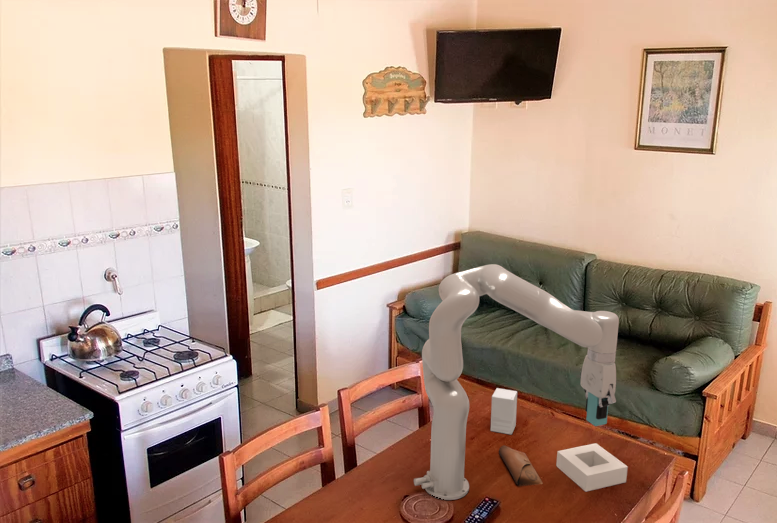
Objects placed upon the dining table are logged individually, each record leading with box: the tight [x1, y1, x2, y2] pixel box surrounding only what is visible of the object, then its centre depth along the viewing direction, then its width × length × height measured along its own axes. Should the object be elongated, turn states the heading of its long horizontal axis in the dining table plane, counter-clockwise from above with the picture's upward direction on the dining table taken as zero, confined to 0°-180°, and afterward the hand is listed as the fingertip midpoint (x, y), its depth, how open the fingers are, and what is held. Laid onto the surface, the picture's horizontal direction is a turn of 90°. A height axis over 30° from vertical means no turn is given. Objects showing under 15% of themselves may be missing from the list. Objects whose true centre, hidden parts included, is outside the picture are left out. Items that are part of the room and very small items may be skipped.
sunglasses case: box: [498, 445, 544, 487], centre depth 190 cm, size 18×7×7 cm, turn 8°
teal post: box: [585, 392, 609, 427], centre depth 183 cm, size 4×4×9 cm
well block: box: [556, 442, 629, 492], centre depth 188 cm, size 14×14×5 cm
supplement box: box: [490, 387, 518, 436], centre depth 213 cm, size 7×7×13 cm
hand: (595, 414), depth 184 cm, fingers closed on teal post, 4 cm apart
